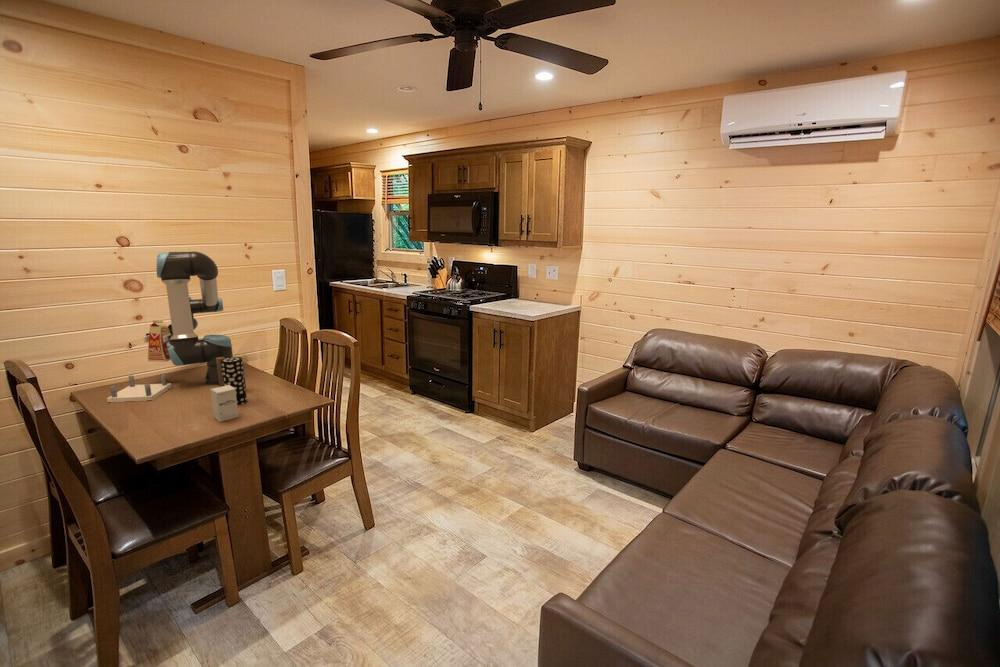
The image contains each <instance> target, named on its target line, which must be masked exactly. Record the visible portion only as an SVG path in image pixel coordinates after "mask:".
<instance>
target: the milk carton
mask: <svg viewBox="0 0 1000 667" xmlns="http://www.w3.org/2000/svg"><path fill="white" fill-rule="evenodd" d="M168 326H169V325H166V324H165V323H164V320H152V323H151V324H150V325H149V329H148V330H149V332H148V333H149V342H148V346H147V347H148V348H147V349H148V350H147V362H157V363H158V362H160V363H161V362H162V363H164V362H165V363H167V362H170V361H171V359H170V356H169V352H168V348H167V343H168V342H170V340H169V341H167V342H163V336H166V335H168V334H170V331H169V329H168Z"/></svg>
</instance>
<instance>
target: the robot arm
mask: <svg viewBox="0 0 1000 667" xmlns="http://www.w3.org/2000/svg"><path fill="white" fill-rule="evenodd" d="M195 276H196V277H197V278H198V280H199V287H200V294H201V298H200V299H199V298H198V299H192V297H191V296H190V294H189V287H188V285H189V284H188V283H189V282H190V281H191V277H195ZM218 276H219V269H218V266H217V264H216V262H215V261H214V260H213V259H212V258H211V257H209V256H208V255H207V254H204V253H202V252H199V251H167V252H165V251H163V252H159V253H158V254H157V256H156V277H157V278H159V279H160V280H161V282H162V283H163V284H164V285H165V288H166V294H167V302H168V309H169V317H170V324H169V325H167V326H168V329H169V331H170V334H168V335H166V336H163V342H167V341H169V340H170V342H168V343H167V348H168V352H169V356H170V359H171V360H170V361H171V363H172V365H174V366H178V367H179V366H187V365H189V366H190V365H196V364H204V363H206V367H207V369H206V373H205V376H204V380H205V384H207V385H209V386H210V385H211V386H220V385H219V378H218V370H217V363H216V358H218V357H225V358H229V357H234V354H233V344H232V340H231V338H230V336H228V335H224V334H207V335H206V334H205V335H204V336H203V337H202V338H203V339H202V338H201V339H199V335H198V334H196V333H195V331H194V330H196V329H197V327H198V325H199V323H198V321H197V319H196V318H195V317H194V314H205V313H206V314H207V313H217V312H222V311H224V302H223V298H222V297H219V293H218V282H217V277H218ZM143 342H144V343H145V344H146V343H149V332H147V333H145V336H143Z"/></svg>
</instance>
